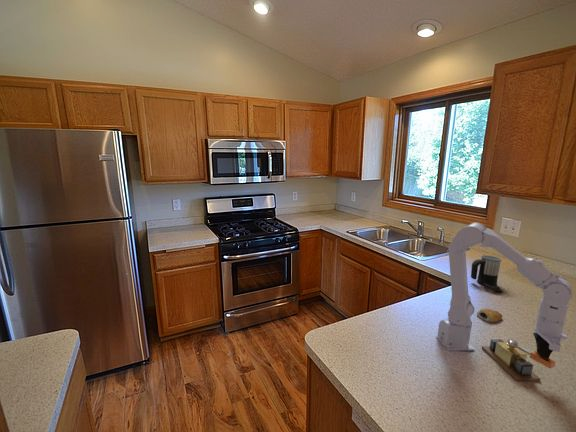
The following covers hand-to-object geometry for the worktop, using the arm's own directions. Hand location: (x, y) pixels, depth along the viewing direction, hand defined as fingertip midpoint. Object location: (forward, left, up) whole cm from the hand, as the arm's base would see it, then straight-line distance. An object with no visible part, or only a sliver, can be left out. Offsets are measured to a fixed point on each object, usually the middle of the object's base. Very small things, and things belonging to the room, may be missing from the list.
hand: (542, 358), depth 84 cm
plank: (-5, +6, -6) cm, 10 cm away
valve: (-5, +6, -6) cm, 10 cm away
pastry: (+10, +33, -7) cm, 35 cm away
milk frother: (+33, +64, -7) cm, 73 cm away
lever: (-3, +1, 0) cm, 3 cm away
